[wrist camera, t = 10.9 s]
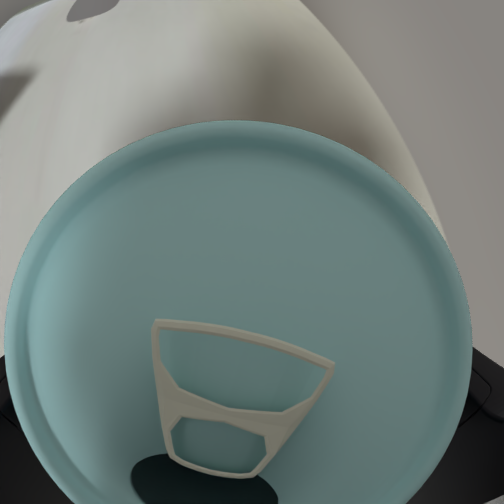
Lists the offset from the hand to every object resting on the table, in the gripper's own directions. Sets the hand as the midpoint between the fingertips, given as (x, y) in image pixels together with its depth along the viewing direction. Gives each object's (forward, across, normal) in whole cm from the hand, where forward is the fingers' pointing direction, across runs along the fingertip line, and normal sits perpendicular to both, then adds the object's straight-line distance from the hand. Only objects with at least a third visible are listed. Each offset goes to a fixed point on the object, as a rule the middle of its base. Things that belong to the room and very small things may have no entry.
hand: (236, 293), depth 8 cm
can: (+4, 0, +6) cm, 7 cm away
